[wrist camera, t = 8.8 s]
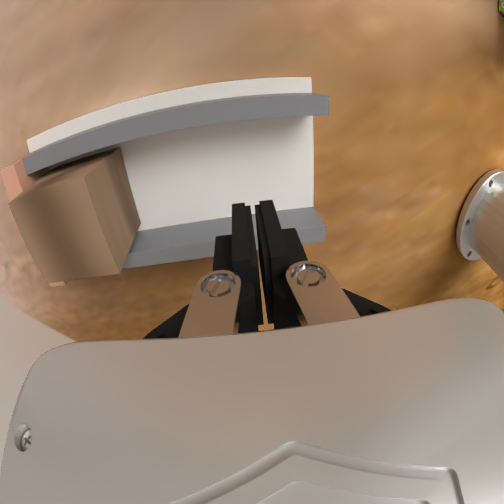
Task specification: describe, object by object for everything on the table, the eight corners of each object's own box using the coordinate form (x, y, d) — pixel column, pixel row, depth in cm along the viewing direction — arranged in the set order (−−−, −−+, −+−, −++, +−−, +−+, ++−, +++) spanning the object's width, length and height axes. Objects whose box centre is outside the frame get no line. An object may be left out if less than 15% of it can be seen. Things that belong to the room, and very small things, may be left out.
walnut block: (120, 146, 16) (84, 177, 11) (141, 222, 20) (120, 273, 15) (53, 168, 16) (8, 203, 11) (77, 235, 19) (46, 283, 14)
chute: (306, 77, 16) (334, 77, 12) (308, 226, 23) (328, 262, 19) (33, 136, 15) (-5, 156, 11) (77, 259, 22) (57, 297, 18)
